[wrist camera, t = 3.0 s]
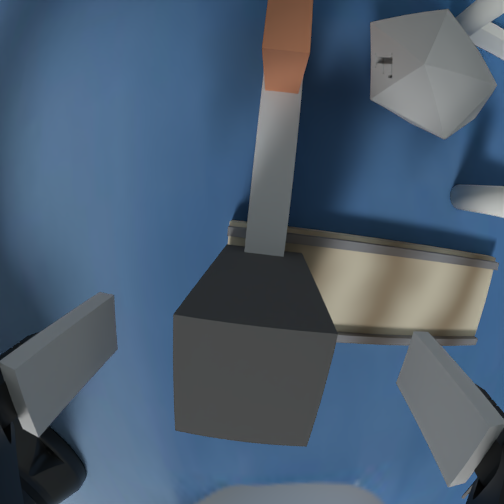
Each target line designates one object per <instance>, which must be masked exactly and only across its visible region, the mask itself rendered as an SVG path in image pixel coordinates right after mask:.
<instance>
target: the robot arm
mask: <svg viewBox="0 0 504 504" xmlns="http://www.w3.org/2000/svg"><path fill="white" fill-rule="evenodd" d="M117 349H118V348H117V336H116V323H115V305H114V295H112V294H107V293H102V292H99V293H97V294H96V295H94V296H93V297H91V298H90V299H88V300H87V301H85V302H84V303H82V304H81V305H79V306H78V307H76V308H75V309H73V310H72V311H70V312H69V313H67V314H66V315H64V316H63V317H61V318H60V319H58V320H57V321H55V322H54V323H53V324H51V325H50V326H48V327H47V328H45V329H44V330H42V331H41V332H38V333H35V334H32V335H30V336H27V337H26V338H24V339H23V340H22V341H20V343H17V344H16V345H14V346H13V348H10V349H9V350H7V351H6V352H4V353H3V354H2V355H0V504H59V503H61V502H62V501H63V500H65V499H66V498H68V497H69V496H71V495H72V494H73V493H75V492H76V491H78V490H79V489H80V487H81V486H82V484H83V482H84V481H85V479H86V471H85V468H84V466H83V464H82V463H81V461H80V459H79V458H78V456H77V455H76V454H75V453H74V451H73V450H72V449H71V448H70V447H69V446H68V444H67V443H66V442H65V441H64V440H63V439H62V438H61V437H60V436H58V435H57V434H56V433H55V432H54V431H53V430H52V429H51V428H49V427H48V426H49V425H50V424H51V423H52V422H53V421H54V419H55V418H56V417H57V416H58V415H59V414H60V413H61V411H62V410H63V409H64V408H65V407H66V406H67V405H68V403H69V402H70V401H71V400H72V399H73V398H74V397H75V396H76V394H77V393H78V392H79V391H80V390H81V389H82V388H83V387H84V386H85V384H86V383H87V382H88V381H89V380H90V379H91V378H92V377H93V376H94V374H95V373H96V372H97V371H98V370H99V369H100V368H101V367H102V366H103V365H104V363H105V362H106V361H107V360H108V359H109V358H110V357H111V356H112V355H113V354H114V353H115V351H116V350H117ZM396 384H397V386H398V387H399V389H400V391H401V393H402V395H403V397H404V399H405V401H406V402H407V404H408V406H409V408H410V410H411V412H412V414H413V416H414V418H415V420H416V422H417V424H418V426H419V428H420V430H421V432H422V434H423V436H424V438H425V440H426V442H427V444H428V446H429V448H430V450H431V452H432V454H433V456H434V458H435V460H436V462H437V464H438V467H439V469H440V471H441V473H442V475H443V477H444V480H445V482H446V484H447V486H448V487H451V486H455V485H459V484H462V483H465V482H466V481H467V480H468V478H469V477H470V476H471V475H472V473H473V472H474V471H475V473H476V475H477V479H476V480H475V481H474V482H473V484H472V485H471V486H470V487H469V488H468V490H467V491H466V492H465V493H464V494H463V496H462V498H463V499H464V498H465V497H466V496H467V494H469V493H470V494H469V496H468V499H467V502H466V504H504V413H503V411H502V410H501V409H500V408H499V407H498V406H496V405H497V404H496V403H495V402H494V401H493V400H491V397H490V396H489V395H488V393H487V392H486V391H485V390H484V389H482V388H481V387H479V386H478V385H476V384H474V383H473V381H472V380H471V379H470V378H469V377H468V376H467V374H466V373H465V372H464V371H463V370H462V369H461V368H460V366H459V365H458V364H457V363H456V362H455V361H454V360H453V359H452V357H451V356H450V355H449V354H448V353H447V352H446V351H445V350H444V349H443V348H442V346H441V345H440V344H439V343H438V342H437V341H436V340H435V339H434V338H433V337H432V336H431V335H430V333H429V332H423V331H414V332H413V335H412V338H411V342H410V345H409V348H408V351H407V354H406V357H405V360H404V363H403V366H402V368H401V371H400V374H399V377H398V379H397V382H396Z"/></svg>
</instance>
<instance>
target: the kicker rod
mask: <svg viewBox="0 0 504 504" xmlns="http://www.w3.org/2000/svg"><path fill="white" fill-rule="evenodd" d="M312 12H313V0H268V4H267V12H266V20H265V28H264V36H263V44H262V55H263V68H264V75H263V84H262V93H261V101H260V110H259V119H258V128H257V137H256V146H255V155H254V164H253V174H252V183H251V192H250V201H249V211H248V220H247V230H246V239H245V246H237V245H228V244H227V245H226V246H225V248H224V249H223V250H222V252H221V253H220V254H219V255H218V257H217V258H216V259H215V261H214V262H213V263H212V264H211V266H210V267H209V268H208V270H207V271H206V272H205V274H204V275H203V276H202V277H201V279H200V280H199V281H198V283H197V284H196V285H195V287H194V288H193V289H192V291H191V292H190V293H189V295H188V296H187V297H186V299H185V300H184V301H183V302H182V304H181V305H180V306H179V308H178V309H177V310H176V312H175V313H174V314H173V381H174V413H175V430H176V431H181V432H186V433H191V434H196V435H202V436H207V437H214V438H220V439H227V440H234V441H242V442H251V443H261V444H273V445H287V446H307V444H308V441H309V438H310V434H311V431H312V428H313V425H314V422H315V418H316V415H317V412H318V408H319V405H320V402H321V398H322V395H323V391H324V387H325V384H326V380H327V376H328V373H329V369H330V365H331V361H332V357H333V353H334V349H335V345H336V341H337V336H338V333H337V330H336V328H335V326H334V323H333V321H332V319H331V316H330V314H329V312H328V310H327V307H326V305H325V303H324V301H323V298H322V296H321V294H320V292H319V289H318V287H317V285H316V283H315V280H314V278H313V276H312V274H311V272H310V269H309V267H308V265H307V263H306V261H305V259H304V256H303V254H302V253H296V252H288V251H284V250H285V242H286V234H287V226H288V218H289V210H290V201H291V193H292V184H293V175H294V166H295V156H296V147H297V137H298V127H299V117H300V106H301V95H302V84H303V76H304V72H305V69H306V65H307V62H308V58H309V55H310V45H311V29H312Z"/></svg>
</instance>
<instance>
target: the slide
mask: <svg viewBox="0 0 504 504" xmlns="http://www.w3.org/2000/svg"><path fill="white" fill-rule="evenodd" d="M246 230H247V221H237V220H231V221H230V226H229V227H228V235H227V236H228V245H237V246H245V239H246ZM284 251H288V252H296V253H302V254H303V256H304V259H305V261H306V263H307V265H308V267H309V269H310V272H311V274H312V276H313V278H314V280H315V283H316V285H317V287H318V289H319V292H320V294H321V296H322V298H323V301H324V303H325V305H326V307H327V310H328V312H329V314H330V316H331V319H332V321H333V323H334V326H335V328H336V330H337V333H338V336H337V341H336V342H341V343H358V344H379V345H410V342H411V338H412V335H413V332H414V331H423V332H429V333H430V335H431V336H432V337H433V338H434V339H435V340H436V341H437V342H438V343H439V344H440V345H441V346H456V345H476V342H477V338H476V337H475V333H476V330H477V327H478V324H479V321H480V317H481V314H482V311H483V307H484V304H485V300H486V297H487V293H488V289H489V285H490V281H491V277H492V273H493V270H498V265H499V263H497V262H495V259H496V258H494V257H492V256H489V255H483V254H477V253H471V252H465V251H459V250H453V249H447V248H440V247H434V246H428V245H421V244H415V243H408V242H401V241H394V240H388V239H381V238H374V237H366V236H359V235H352V234H344V233H337V232H329V231H322V230H314V229H306V228H298V227H290V226H287V234H286V242H285V250H284Z"/></svg>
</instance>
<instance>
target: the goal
mask: <svg viewBox="0 0 504 504" xmlns="http://www.w3.org/2000/svg"><path fill="white" fill-rule="evenodd" d="M503 13H504V0H476V1H475V2H474V3H472V4H471V5H470V6H469V7H468V8H466V9H465V10H464V11H463V12H462V13H460V14H459V15H458V16H457V17H456V20H457V21H458V22H459V24H460V25H461V26H462V28H463V29H464V30H465V32H466V33H467V34H468V36H469V37H470V39H471V40H472V42H473V43H474V45H476V46H478V47H480V48H482V49H484V50H486V51H488V52H490V53H492V54H493V55H495V56H497V57H499V58H501V59H502V60H504V29H502V28H500V27H499V26H497V25H495V24H493V23H492V22H491V21H493V20H494V19H496V18H497V17H499V16H500V15H502V14H503ZM450 200H451V203H452V205H453V206H454V207H455V208H456V209H459V210H465V211H471V212H477V213H483V214H488V215H494V216H499V217H502V218H504V186H488V185H463V184H458V185H455V186H454V187H453V188H452V190H451V193H450Z"/></svg>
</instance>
